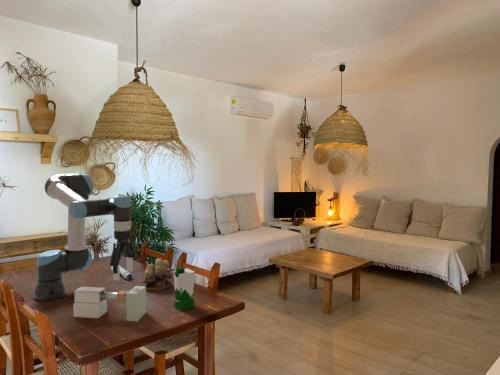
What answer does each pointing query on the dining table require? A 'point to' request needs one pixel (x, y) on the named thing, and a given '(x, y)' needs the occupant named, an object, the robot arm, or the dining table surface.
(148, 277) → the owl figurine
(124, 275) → the white knobbed cylinder
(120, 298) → the tube
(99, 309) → the sleeve
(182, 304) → the milk carton
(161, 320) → the dining table surface
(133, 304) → the socket block
